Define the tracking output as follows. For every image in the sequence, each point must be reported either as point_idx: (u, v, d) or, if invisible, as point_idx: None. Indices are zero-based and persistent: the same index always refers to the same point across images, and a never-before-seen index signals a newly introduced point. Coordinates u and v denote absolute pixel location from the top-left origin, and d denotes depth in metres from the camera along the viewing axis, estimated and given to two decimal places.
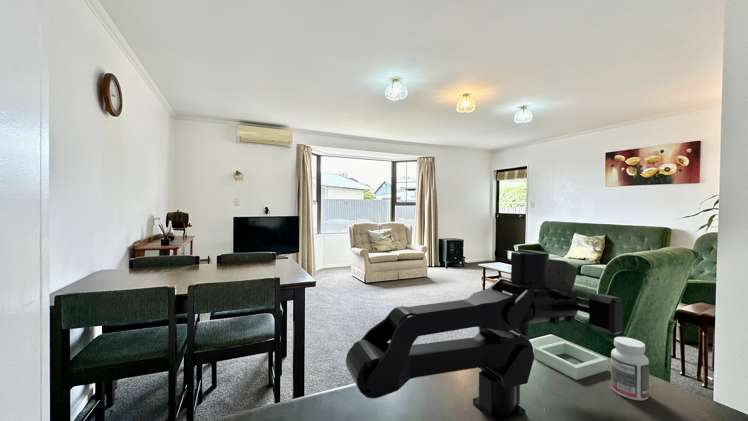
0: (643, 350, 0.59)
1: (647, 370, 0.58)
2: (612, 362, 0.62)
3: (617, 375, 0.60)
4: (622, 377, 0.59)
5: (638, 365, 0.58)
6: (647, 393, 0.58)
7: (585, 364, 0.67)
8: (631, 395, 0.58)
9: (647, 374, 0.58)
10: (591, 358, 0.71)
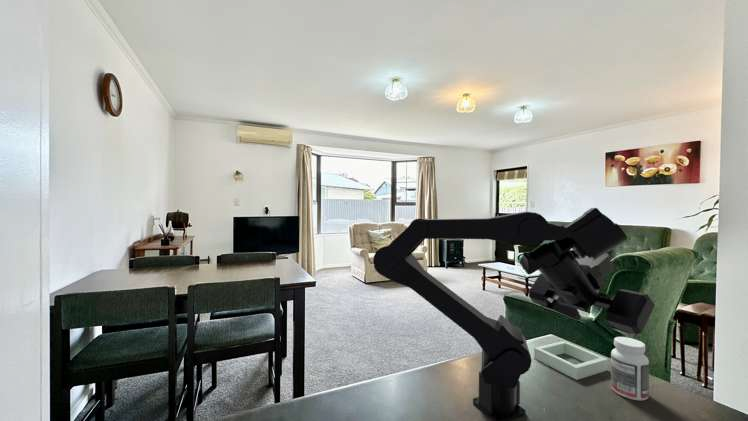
0: (643, 350, 0.59)
1: (647, 370, 0.58)
2: (612, 362, 0.62)
3: (617, 375, 0.60)
4: (622, 377, 0.59)
5: (638, 365, 0.58)
6: (647, 393, 0.58)
7: (585, 364, 0.67)
8: (631, 395, 0.58)
9: (647, 374, 0.58)
10: (591, 358, 0.71)
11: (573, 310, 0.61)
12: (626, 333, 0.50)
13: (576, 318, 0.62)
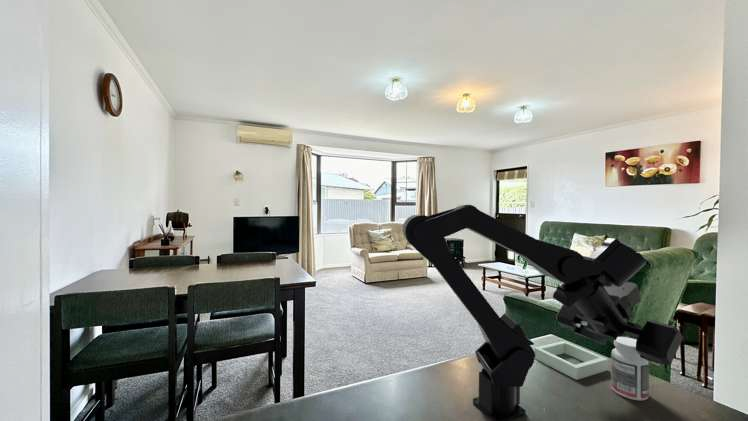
0: None
1: (647, 370, 0.58)
2: (612, 362, 0.62)
3: (617, 375, 0.60)
4: (622, 377, 0.59)
5: (638, 365, 0.58)
6: (647, 393, 0.58)
7: (585, 364, 0.67)
8: (631, 395, 0.58)
9: (647, 374, 0.58)
10: (591, 358, 0.71)
11: (600, 335, 0.64)
12: (654, 362, 0.53)
13: (602, 342, 0.64)
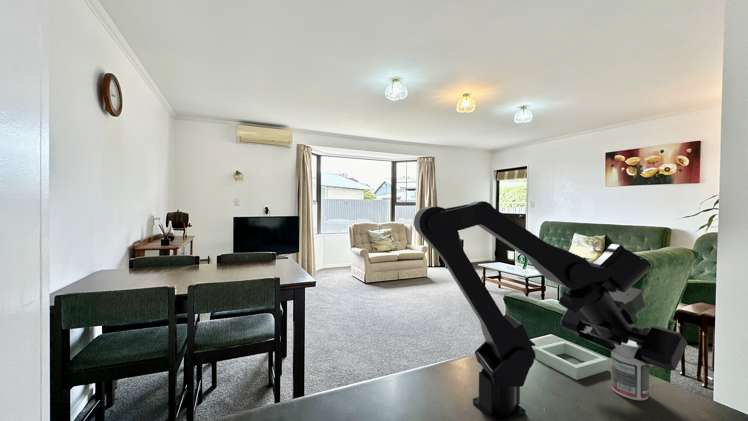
0: None
1: (647, 370, 0.58)
2: (612, 362, 0.62)
3: (617, 375, 0.60)
4: (622, 377, 0.59)
5: (638, 365, 0.58)
6: (647, 393, 0.58)
7: (585, 364, 0.67)
8: (631, 395, 0.58)
9: (647, 374, 0.58)
10: (591, 358, 0.71)
11: (612, 343, 0.63)
12: (647, 363, 0.55)
13: None
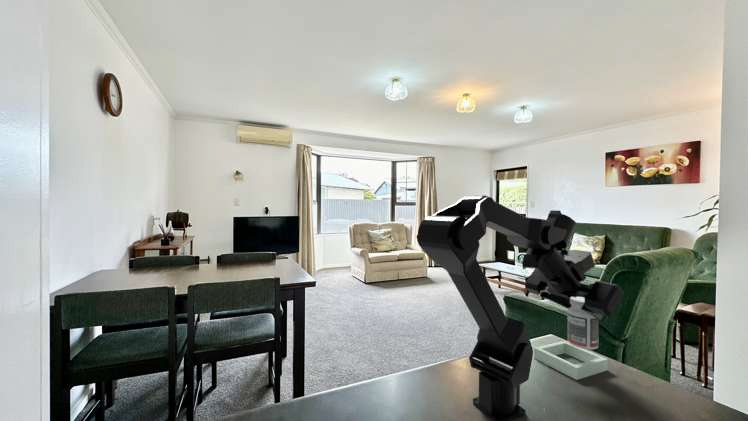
0: None
1: (596, 323, 0.67)
2: None
3: (571, 328, 0.68)
4: (575, 330, 0.68)
5: (587, 318, 0.66)
6: (596, 343, 0.67)
7: (585, 364, 0.67)
8: (582, 345, 0.67)
9: (596, 326, 0.67)
10: (591, 358, 0.71)
11: (569, 301, 0.72)
12: (593, 314, 0.63)
13: None
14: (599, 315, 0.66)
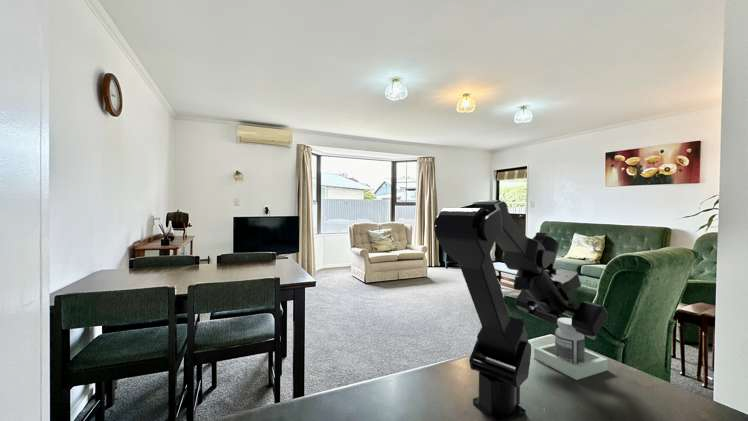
0: None
1: (582, 344, 0.69)
2: (555, 339, 0.72)
3: (559, 349, 0.71)
4: (562, 351, 0.70)
5: (574, 340, 0.69)
6: None
7: (585, 364, 0.67)
8: None
9: (582, 348, 0.69)
10: (591, 358, 0.71)
11: (551, 316, 0.76)
12: (587, 335, 0.64)
13: (553, 322, 0.76)
14: (593, 336, 0.67)
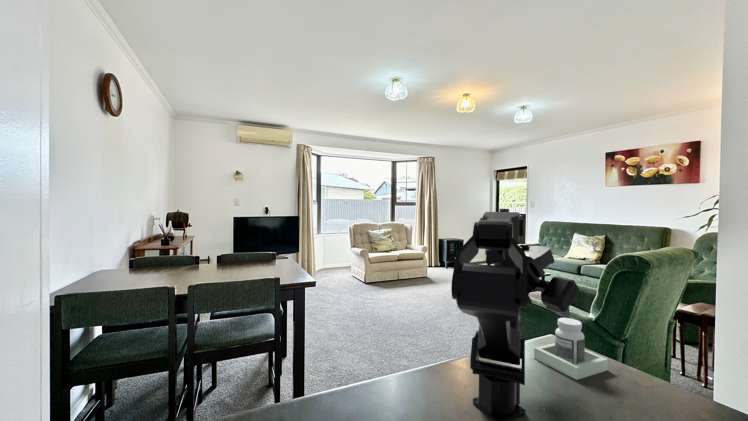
0: (579, 328, 0.69)
1: (582, 344, 0.69)
2: (555, 339, 0.72)
3: (559, 349, 0.71)
4: (562, 351, 0.70)
5: (574, 340, 0.69)
6: None
7: (585, 364, 0.67)
8: None
9: (582, 348, 0.69)
10: (591, 358, 0.71)
11: None
12: (558, 312, 0.61)
13: (527, 302, 0.72)
14: (565, 314, 0.63)
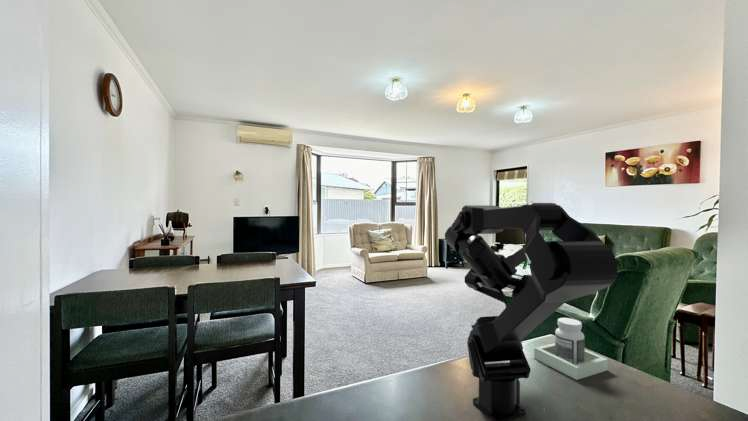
0: (579, 328, 0.69)
1: (582, 344, 0.69)
2: (555, 339, 0.72)
3: (559, 349, 0.71)
4: (562, 351, 0.70)
5: (574, 340, 0.69)
6: None
7: (585, 364, 0.67)
8: None
9: (582, 348, 0.69)
10: (591, 358, 0.71)
11: (500, 294, 0.74)
12: None
13: (502, 300, 0.74)
14: None
